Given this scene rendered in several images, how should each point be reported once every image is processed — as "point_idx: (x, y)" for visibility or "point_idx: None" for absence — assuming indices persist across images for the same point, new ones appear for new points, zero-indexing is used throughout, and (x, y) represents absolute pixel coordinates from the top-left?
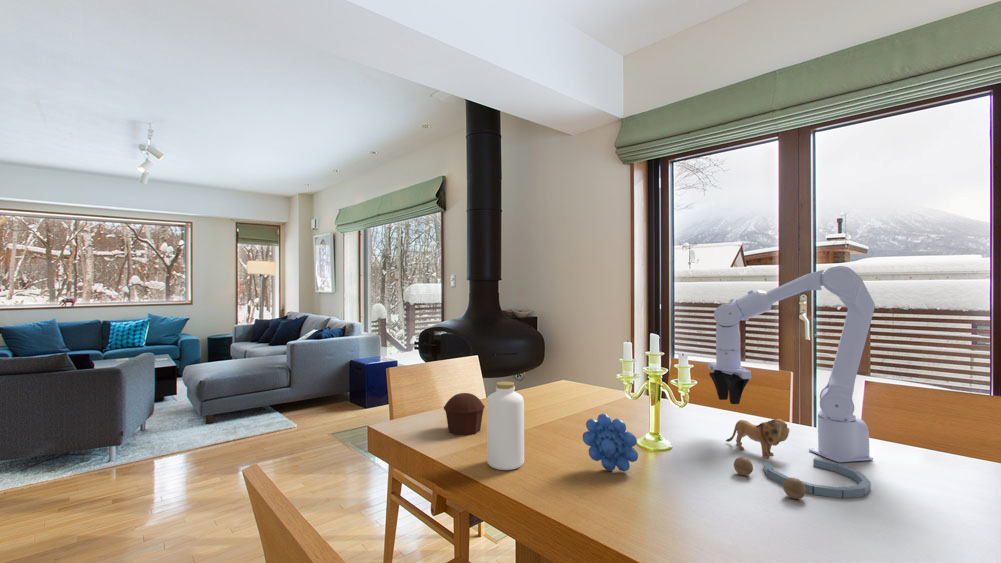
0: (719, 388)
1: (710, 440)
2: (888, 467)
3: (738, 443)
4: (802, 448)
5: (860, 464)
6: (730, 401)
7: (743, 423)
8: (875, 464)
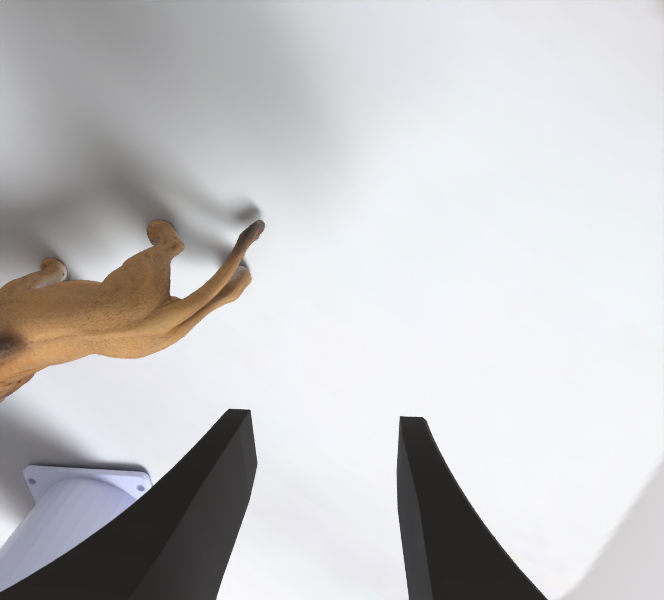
0: (415, 512)
1: (320, 156)
2: None
3: (165, 236)
4: None
5: (31, 509)
6: (235, 419)
7: (81, 306)
8: None
